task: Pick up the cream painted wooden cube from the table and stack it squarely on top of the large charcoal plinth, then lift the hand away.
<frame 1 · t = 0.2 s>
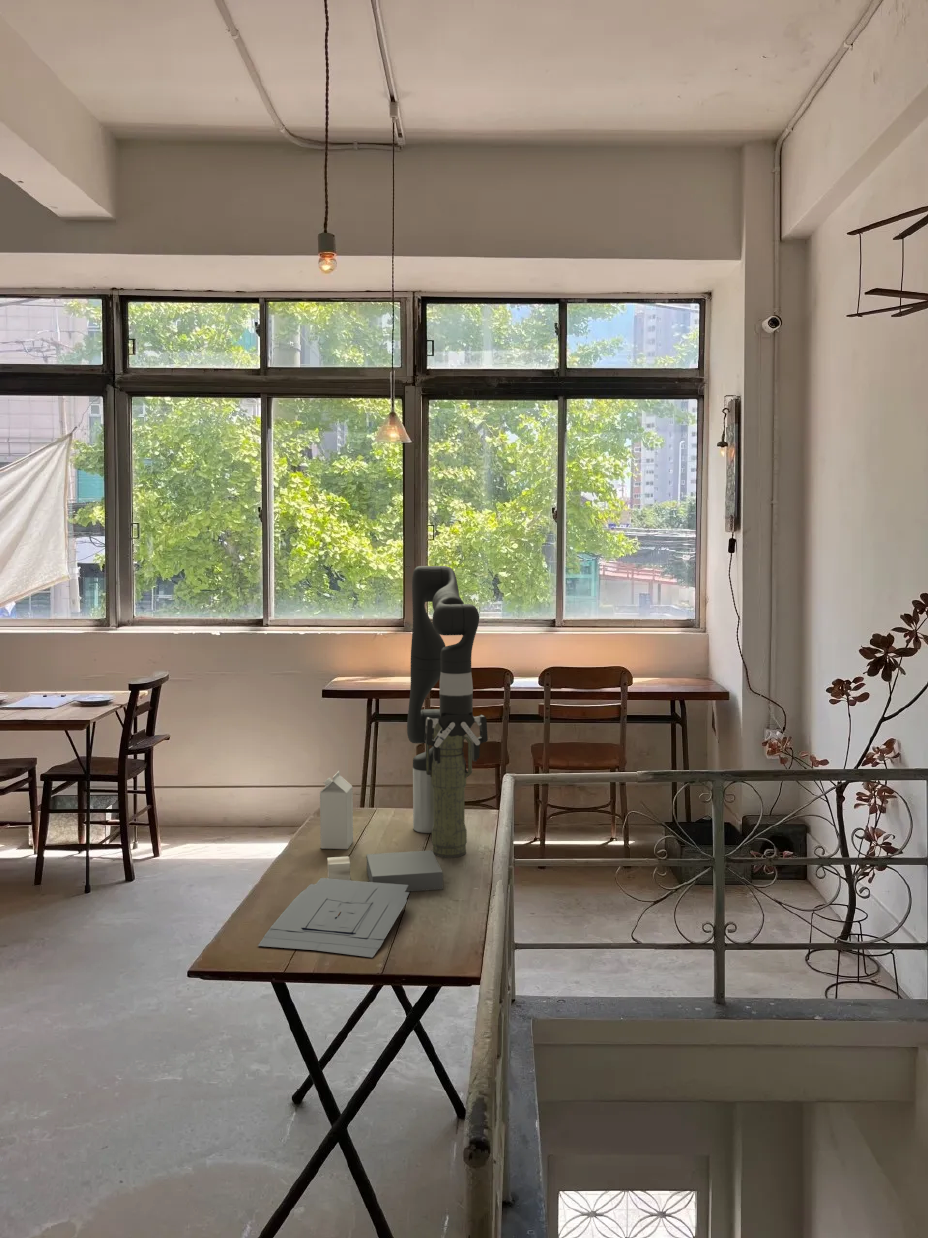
hand: (456, 761, 225), 29 cm above the table, fingers open, 8 cm apart
cream cube: (338, 881, 230), on the table
thermos: (449, 852, 251), on the table
milk carton: (337, 846, 257), on the table
papers: (341, 925, 205), on the table
charcoal plinth: (403, 879, 231), on the table
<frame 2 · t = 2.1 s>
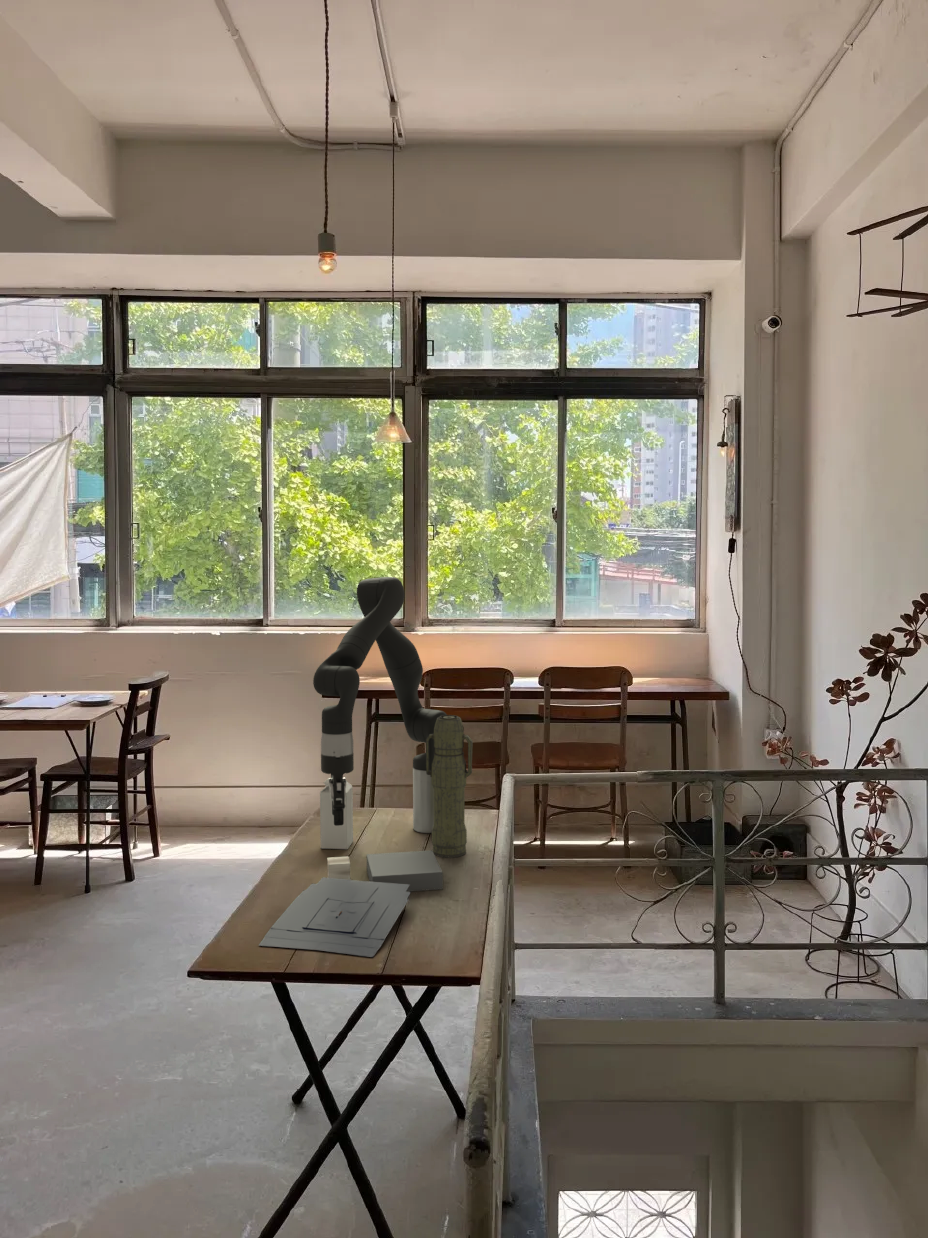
hand: (337, 820, 229), 15 cm above the table, fingers open, 8 cm apart
nothing on the table moved.
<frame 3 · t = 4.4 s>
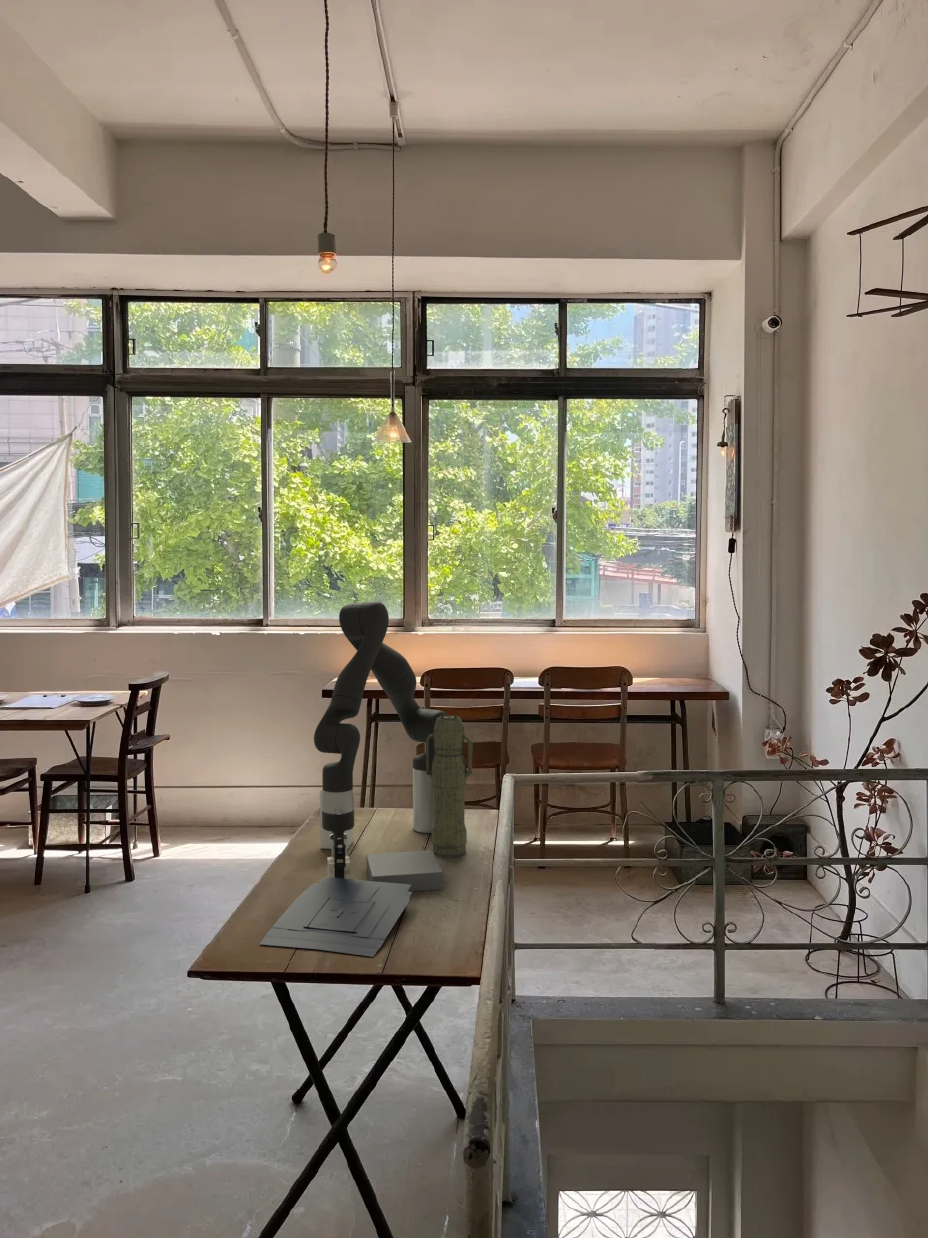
hand: (338, 878, 230), 0 cm above the table, fingers closed on cream cube, 5 cm apart
cream cube: (338, 880, 230), on the table, touching gripper
everything else where it was.
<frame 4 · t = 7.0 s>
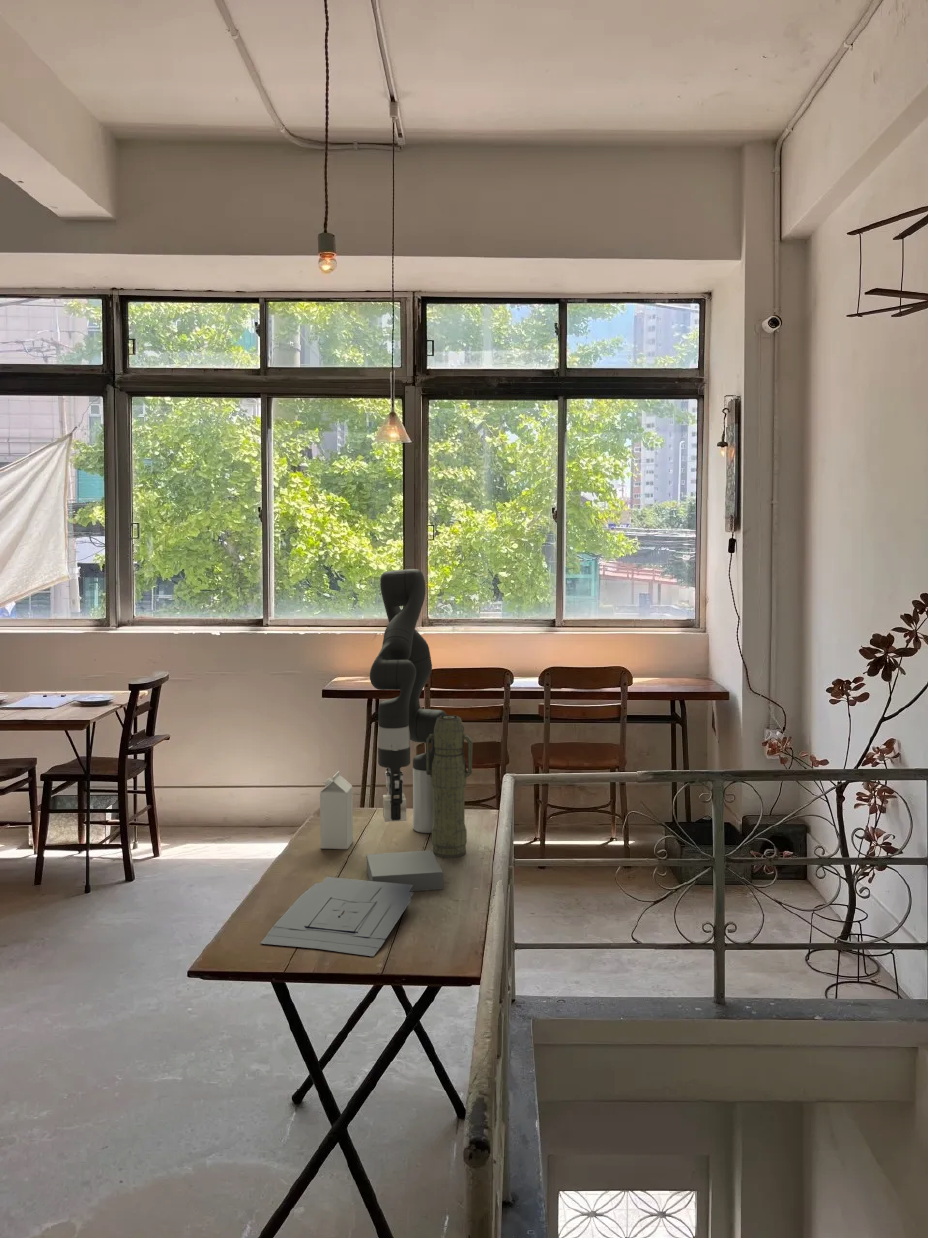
hand: (394, 816, 230), 15 cm above the table, fingers closed on cream cube, 5 cm apart
cream cube: (394, 818, 230), point 15 cm above the table, touching gripper
everything else where it was.
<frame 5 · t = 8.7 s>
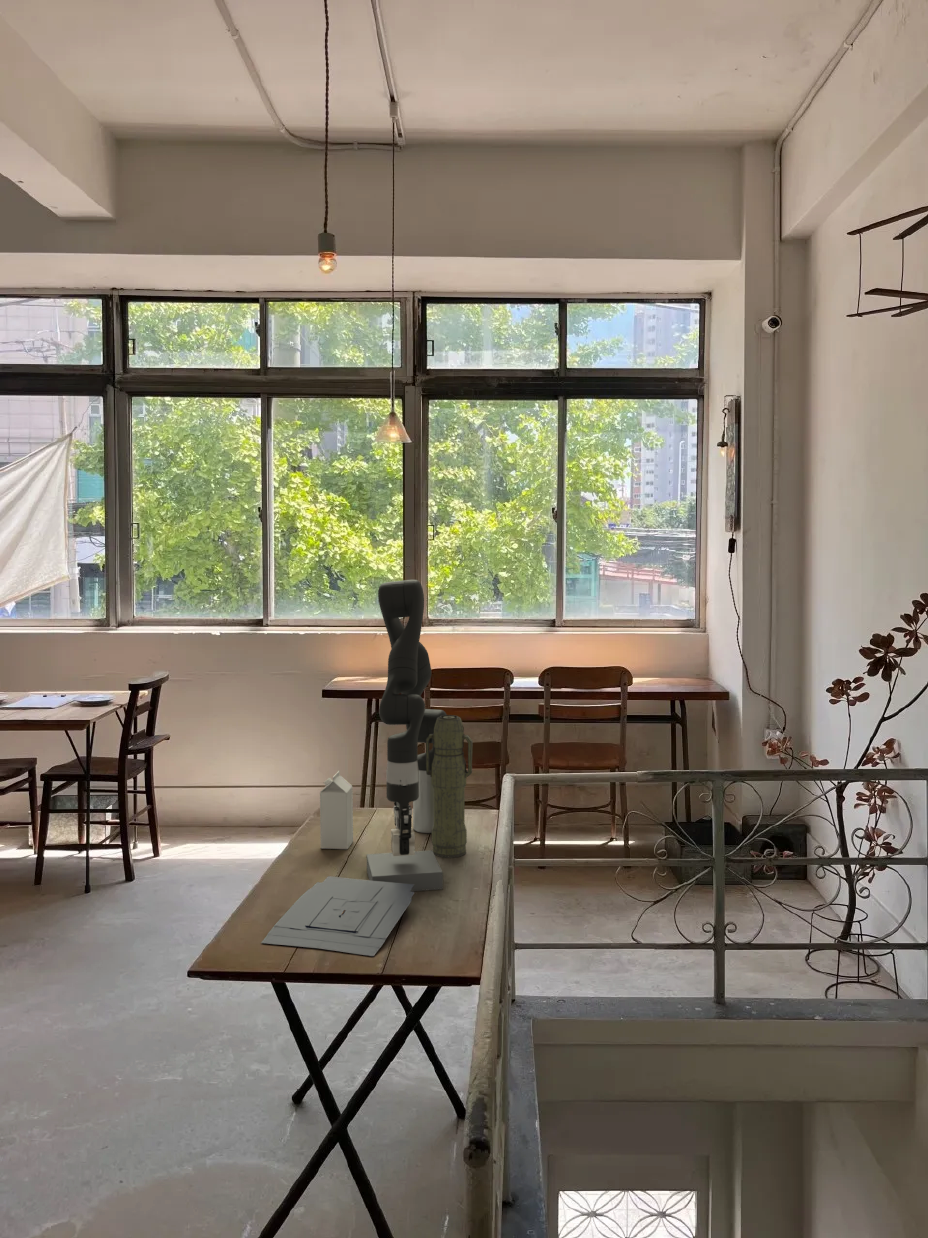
hand: (402, 850, 230), 7 cm above the table, fingers closed on cream cube, 5 cm apart
cream cube: (402, 852, 230), point 7 cm above the table, touching gripper
when the fingers open (6 cm above the table, at t = 9.8 s): cream cube drops 1 cm, resting on charcoal plinth.
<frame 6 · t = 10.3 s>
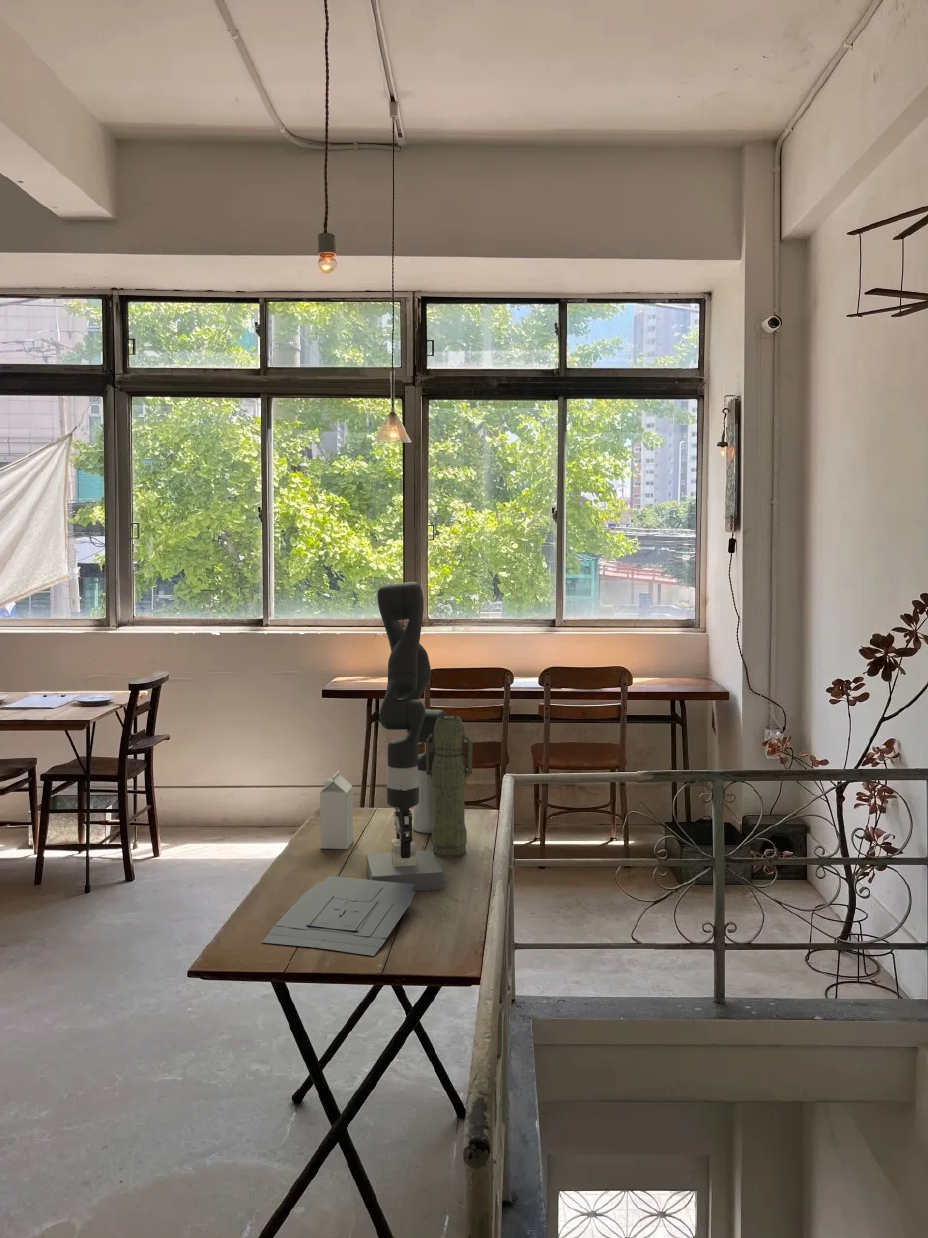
hand: (403, 852, 231), 7 cm above the table, fingers open, 8 cm apart
cream cube: (403, 862, 231), point 4 cm above the table, touching charcoal plinth
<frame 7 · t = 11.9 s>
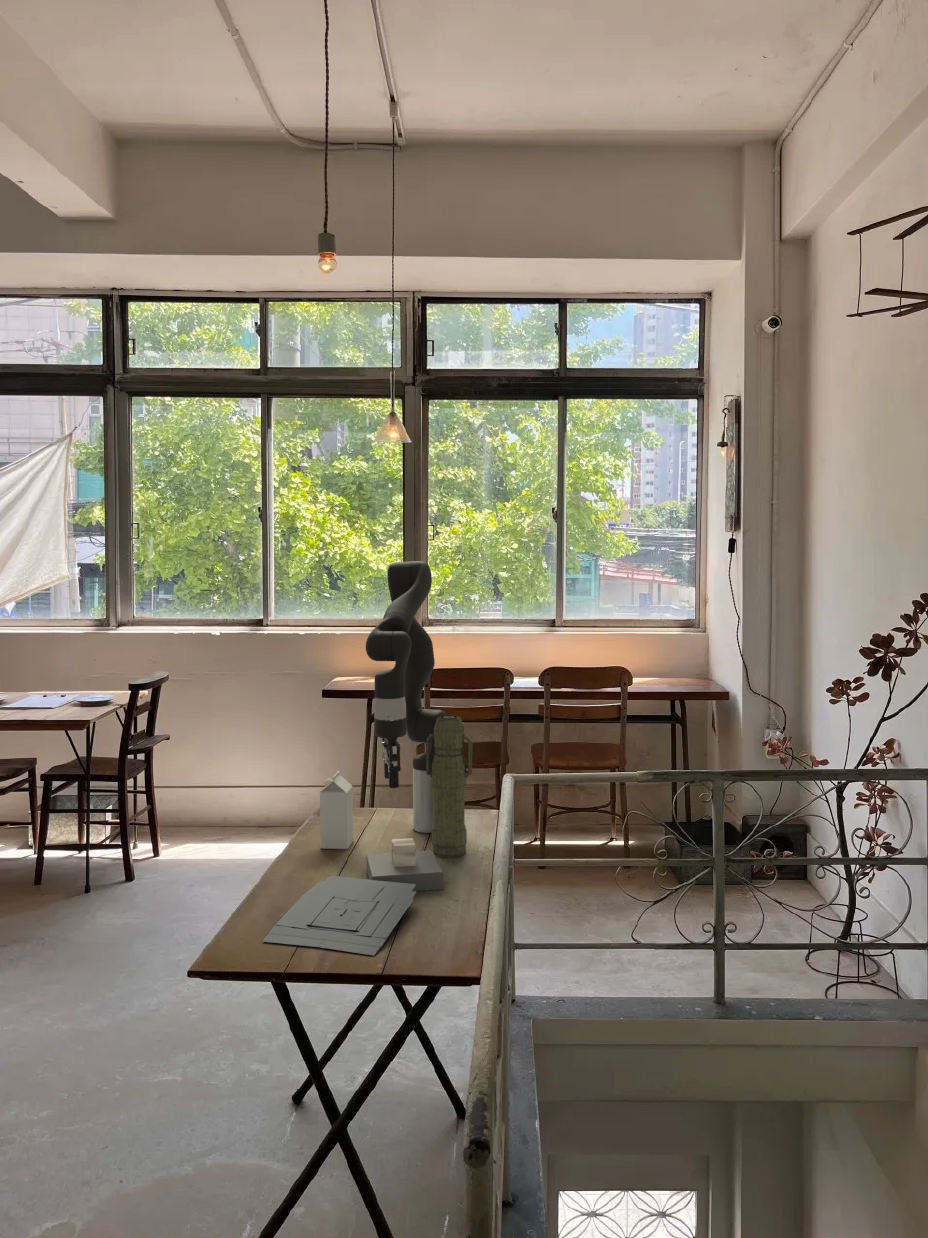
hand: (391, 782, 233), 22 cm above the table, fingers open, 8 cm apart
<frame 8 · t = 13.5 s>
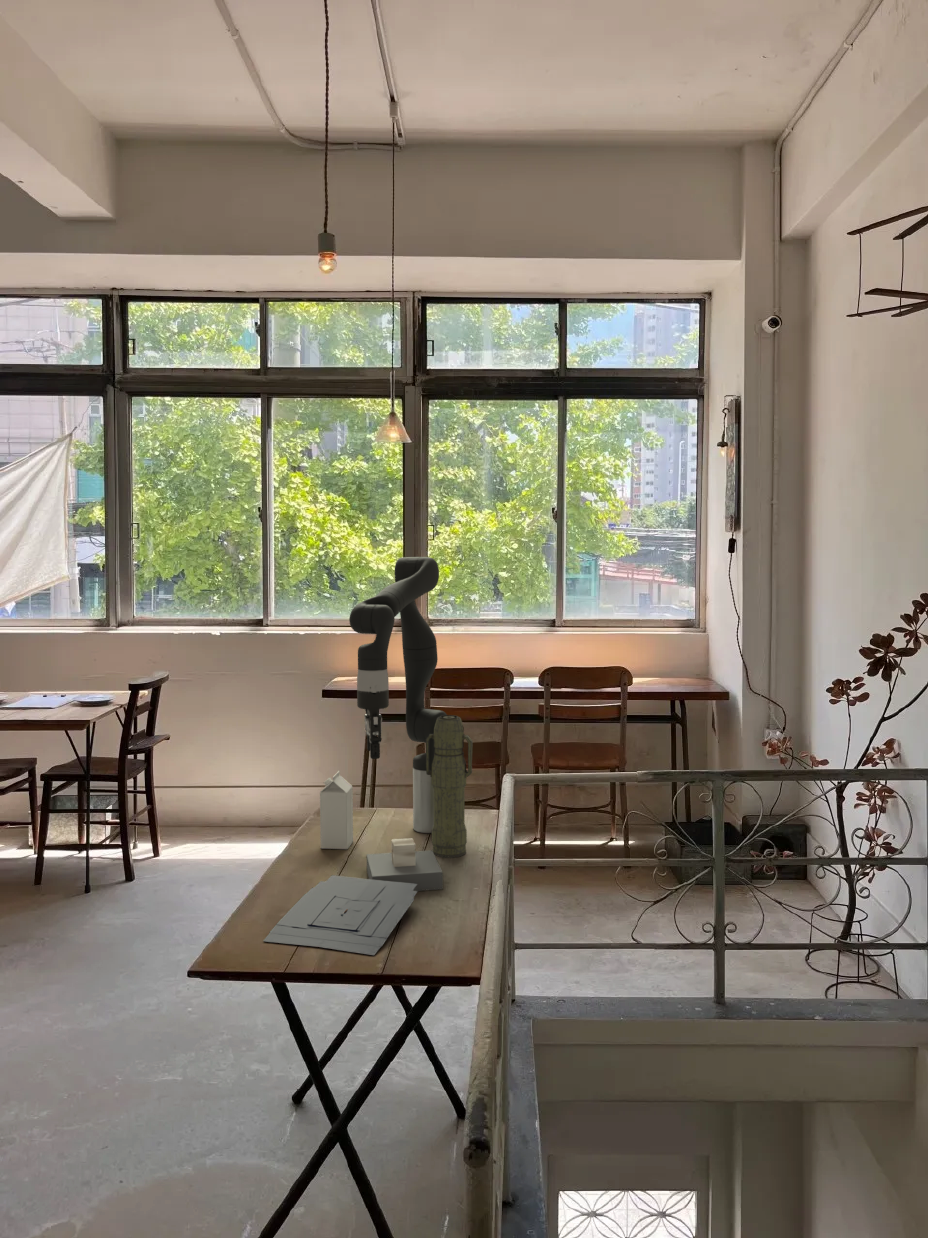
hand: (373, 754, 237), 28 cm above the table, fingers open, 8 cm apart
at the end: cream cube inside the target area on the charcoal plinth (0.1 cm from its centre), point 4.0 cm above the charcoal plinth's base; cream cube tilted 0°; the gripper is holding nothing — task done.
